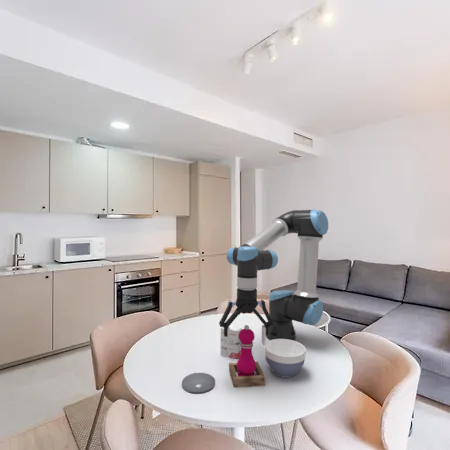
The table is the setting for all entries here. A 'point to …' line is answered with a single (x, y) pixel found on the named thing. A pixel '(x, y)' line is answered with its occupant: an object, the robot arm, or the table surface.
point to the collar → (246, 377)
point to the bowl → (285, 356)
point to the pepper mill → (246, 353)
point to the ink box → (231, 343)
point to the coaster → (198, 383)
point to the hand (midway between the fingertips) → (245, 344)
